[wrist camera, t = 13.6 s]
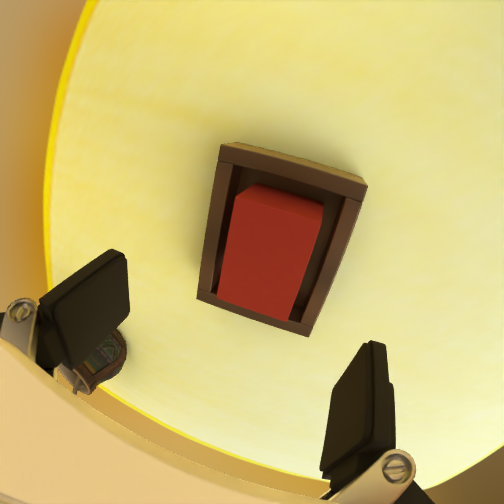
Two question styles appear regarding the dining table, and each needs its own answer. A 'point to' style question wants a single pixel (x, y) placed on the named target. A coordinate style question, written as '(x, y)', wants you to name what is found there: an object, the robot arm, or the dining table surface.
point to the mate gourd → (97, 365)
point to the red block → (268, 249)
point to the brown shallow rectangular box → (295, 181)
